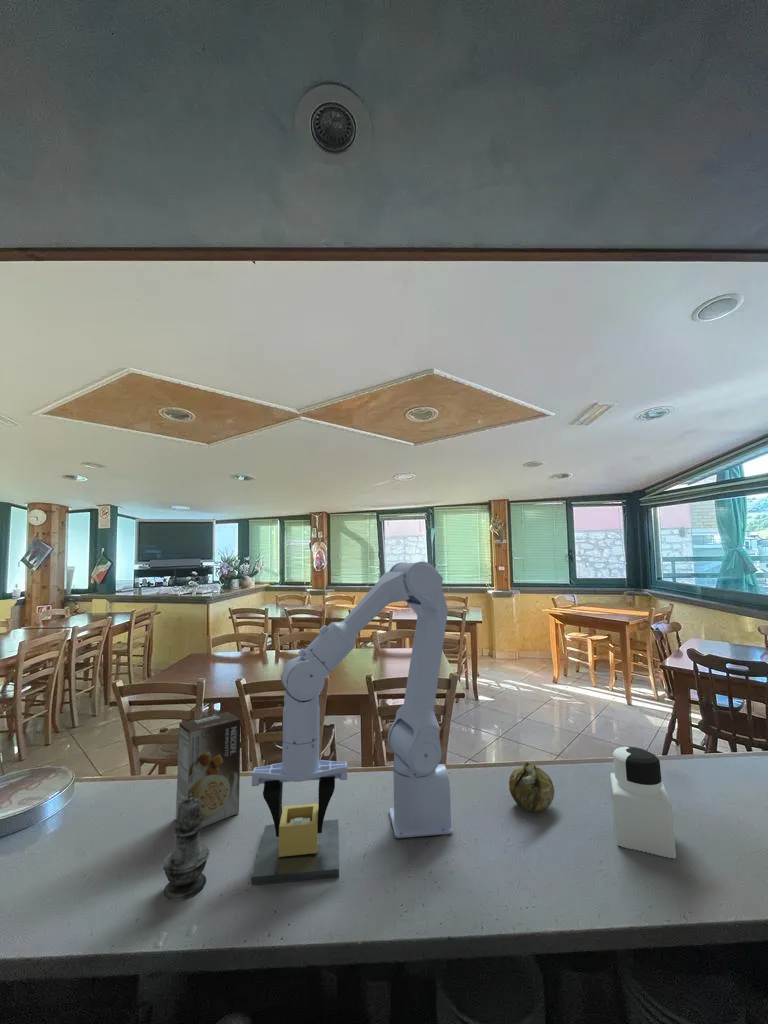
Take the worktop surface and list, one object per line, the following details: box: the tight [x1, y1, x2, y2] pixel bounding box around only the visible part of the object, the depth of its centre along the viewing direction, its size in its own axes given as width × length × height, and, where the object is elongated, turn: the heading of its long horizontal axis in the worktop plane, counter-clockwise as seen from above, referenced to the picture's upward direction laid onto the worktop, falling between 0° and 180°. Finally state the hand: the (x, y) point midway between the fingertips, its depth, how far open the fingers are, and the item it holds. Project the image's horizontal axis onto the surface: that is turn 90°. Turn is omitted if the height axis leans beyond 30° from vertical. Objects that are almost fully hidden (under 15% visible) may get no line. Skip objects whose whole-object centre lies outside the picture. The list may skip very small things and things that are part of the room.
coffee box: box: [175, 711, 242, 829], centre depth 75 cm, size 9×6×16 cm
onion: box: [508, 761, 555, 813], centre depth 77 cm, size 8×8×8 cm
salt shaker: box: [162, 792, 211, 902], centre depth 59 cm, size 6×6×12 cm
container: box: [609, 746, 677, 860], centre depth 68 cm, size 8×8×13 cm
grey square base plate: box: [250, 818, 340, 886], centre depth 65 cm, size 12×12×4 cm
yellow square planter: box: [279, 802, 319, 857], centre depth 65 cm, size 6×6×5 cm
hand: (299, 831), depth 65 cm, fingers closed on yellow square planter, 5 cm apart
